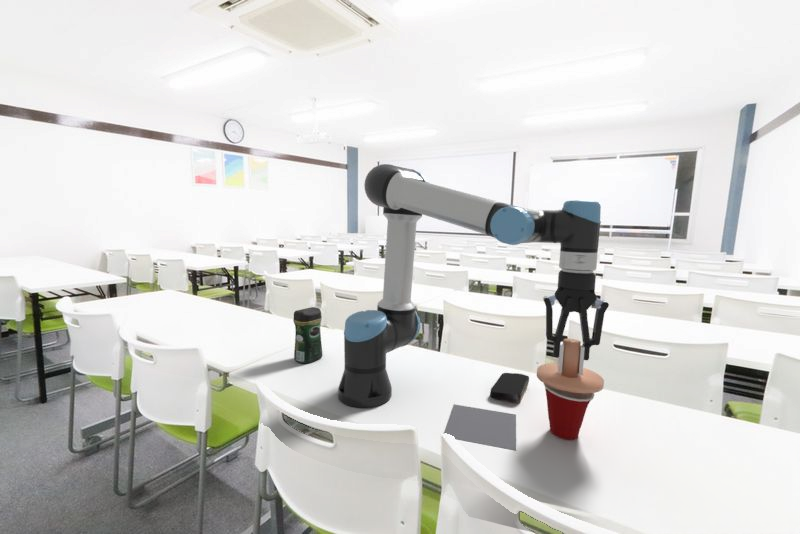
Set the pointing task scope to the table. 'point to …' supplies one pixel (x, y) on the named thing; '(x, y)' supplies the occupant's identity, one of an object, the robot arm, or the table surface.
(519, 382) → the black sponge
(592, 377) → the lid
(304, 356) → the coffee jar
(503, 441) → the mat
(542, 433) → the table surface
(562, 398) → the plastic cup
